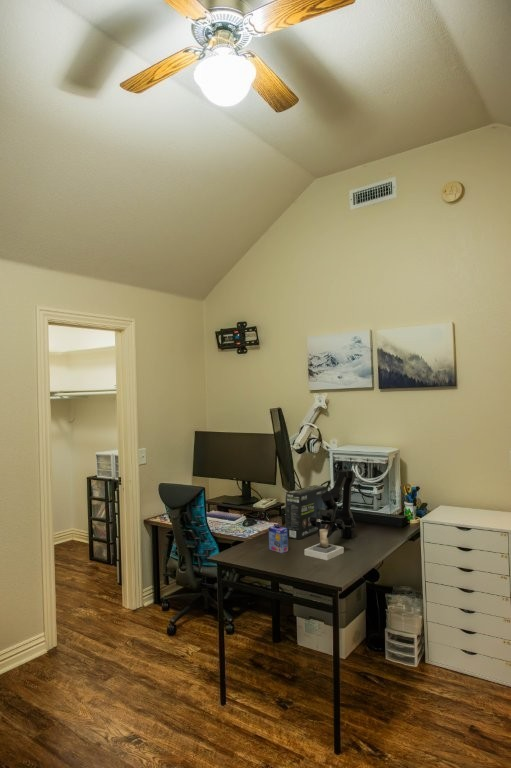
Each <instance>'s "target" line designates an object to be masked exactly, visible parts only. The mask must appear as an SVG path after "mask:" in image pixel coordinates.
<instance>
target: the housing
mask: <svg viewBox="0 0 511 768" xmlns="http://www.w3.org/2000/svg"><path fill="white" fill-rule="evenodd" d="M328 546H329V548H327V549H325V548H320V542H319V543H317V544H315V545H312V546H309V547H307V548H305V549H304V556H306V557H307V556H308V557H311V558H315V559H321V560H324V561H329V560H331V559H333V558H336V557H338V556H340V555H342V554H344V553H345V548H344V547H343V546H340V545H334V544H332V543H331V544H330V543H328Z"/></svg>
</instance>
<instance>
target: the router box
mask: <svg viewBox="0 0 511 768" xmlns="http://www.w3.org/2000/svg"><path fill="white" fill-rule="evenodd" d="M326 491H328V486H325V485H316V484H314V485H313V484H312V485H309V486H307V487H302V488H299V489H294V490H291V491H287V492H285V493H284V496H285V528H287V531H288V539H296V540H302V539H305V538H307V537H309V536H312V535H314V534H318V528H317V527H314V526H312V525H311V523H310V521H309V519H310V517H317V518H318V519H320V520H322V519H321V516H319V514H320V509H322V510H325V509H326V506H325V504H324V502H323V500H322V498H321V496H322V494H323V493H325V492H326ZM322 527H323V529H329V528H328V527H329V525H325V524H322Z"/></svg>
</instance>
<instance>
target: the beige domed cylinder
mask: <svg viewBox="0 0 511 768" xmlns="http://www.w3.org/2000/svg"><path fill="white" fill-rule="evenodd" d="M328 530H329V529H328V528H326V529H320V537H319V543H320V548H325V549H327V548H329V546H328V544H329V537H328V538H327V533H328Z"/></svg>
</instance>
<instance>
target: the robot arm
mask: <svg viewBox="0 0 511 768" xmlns="http://www.w3.org/2000/svg"><path fill="white" fill-rule="evenodd" d="M337 473H338V475H337V478H336V480H335V483H334V485H333V487H332V488H330V489H329V490H327V491H326V492H325V493H323V494H322V496H321V498H322V500H323V502H324V504H325V506H326V509H325V510H322V509H320V514H319V516H321V519H322V520H320V519H318V518H317V517H310V519H309V521H310V523H311V525H312V526H314V527H317V528H318V532H317V535H318V538H320V529H323V527H322V524H325V525H328V527H329V528H328V529H327V530H328V533H327V538H328V539H329V538H330V537H331V536H332V534H334V532H336V531H339V530H340V536H339V538H341V539H344V540H352V539H354V538H355V533H354V529H356V522H355V520H354V517H353V516H354V515H353V513H352V511H351V506H352V505H351V504H352V503H351V500H352V486H353V484H354V482H355V479H356V476H357V473H356V472H355V471H354V470H348V469H347V470H346V469H344V470H339V471H338V472H337ZM341 501H342V505H341V506H342V509H341V510H340V512H338V518H337V519H336V512H337V510H339V509H338V508H339V507H338V504H339V503H341ZM337 503H338V504H337Z"/></svg>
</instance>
